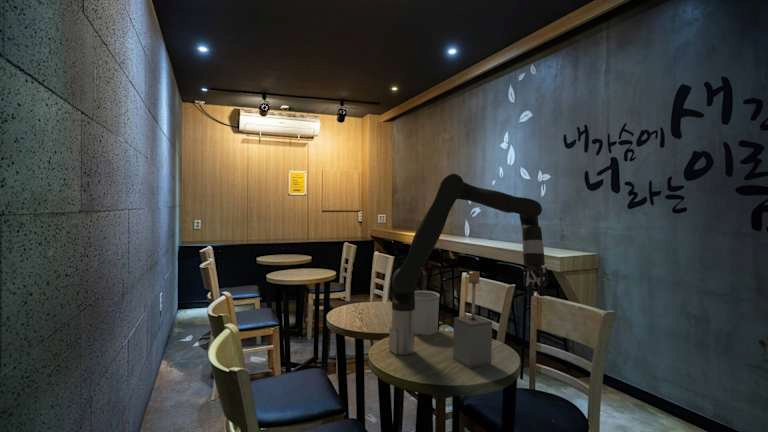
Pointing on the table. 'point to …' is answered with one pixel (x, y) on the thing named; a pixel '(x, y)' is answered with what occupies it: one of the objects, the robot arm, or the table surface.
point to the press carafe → (472, 341)
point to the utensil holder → (426, 312)
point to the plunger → (473, 289)
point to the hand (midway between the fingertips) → (536, 296)
